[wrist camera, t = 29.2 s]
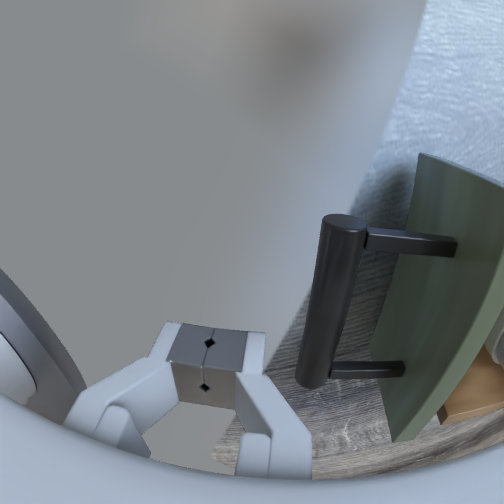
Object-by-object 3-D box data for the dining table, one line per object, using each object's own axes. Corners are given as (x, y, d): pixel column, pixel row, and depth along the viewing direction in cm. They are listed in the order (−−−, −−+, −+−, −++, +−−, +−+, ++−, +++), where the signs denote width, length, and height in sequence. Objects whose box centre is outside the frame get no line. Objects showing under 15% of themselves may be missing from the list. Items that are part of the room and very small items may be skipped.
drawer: (288, 344, 16) (287, 449, 10) (313, 135, 11) (352, 157, 5) (510, 337, 15) (547, 397, 9) (563, 200, 10) (627, 243, 4)
